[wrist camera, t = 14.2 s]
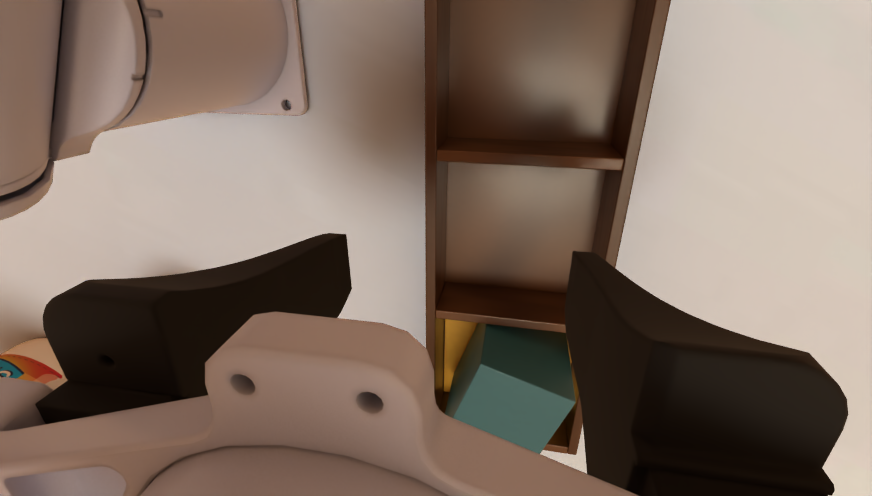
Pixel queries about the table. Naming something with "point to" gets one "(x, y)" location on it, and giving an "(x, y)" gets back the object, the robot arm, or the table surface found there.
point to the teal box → (513, 384)
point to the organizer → (527, 160)
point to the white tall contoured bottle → (31, 362)
